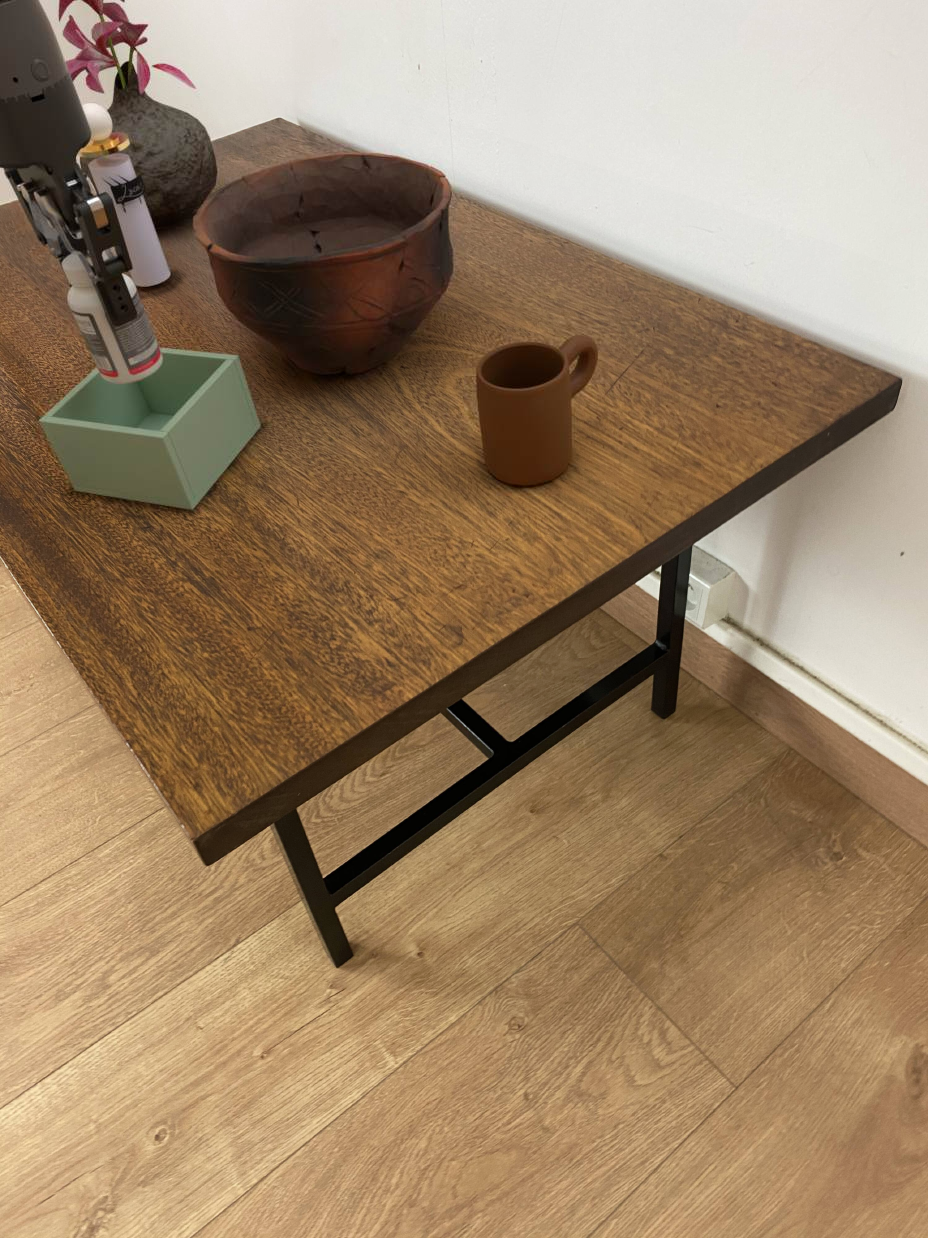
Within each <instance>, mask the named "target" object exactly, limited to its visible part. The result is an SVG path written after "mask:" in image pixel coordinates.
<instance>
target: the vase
mask: <svg viewBox="0 0 928 1238" xmlns="http://www.w3.org/2000/svg"><path fill="white" fill-rule="evenodd" d="M75 1H77V0H58V22H59V23H60V22H61V20H62V18H63V15H64V14H65V12H66V10H67V8H68V7H69V6H70V5H71V4H72V3H74V2H75ZM81 1H82V2H83V3H85V4H86V5H88V7H90V8H91V9H92V10H93V11H94V12H95V13H96V14H97V15H98V17H99V20H100V21H99V22H96V23H94V25H93V27H92V28H91V39H92V40H93V41H94V42H92V41H91V40H90V39H89V38H88V37H87V36H86V35H85V34H84V32H82V30H81V29H80V28H79V25H78V24H77V22H76V21H75V19H74V16H73V15H71V14H69V15H68V21H67V22H66V24H65V26H64V27H63V30H62V36H63V38H65V40H66V41H67V42H68V43H69V44H71V45H72V46H73V47H76V48H77V49H80V51H79V53H77V55H76V56H75V58H72V59H69V60H65V62H66V65H67V68H68V70H69V73H70V76H71V78H72V81H73V82H74V81H75V80H76V78H77V77H78V76H79V75H80V74H81V73H82V72H84V71H85V72H86V73H87V75H86V77H85V85H86V86H87V87H88V88H89V90H91V91H93V92H96V93H99V94H105V90H104V88H103V86H102V83H101V81H100V78H99V73H100V72H102V71H105V70H107V69H111V68H116V69H117V72H116V75H115V77H114V83H113V94H112V102H111V104H110V106H109V107H108V108H107V109H106V110H107V111H108V113H109V114H110V117H111V119H112V124H113V127H112V132H120V133H125V134H127V135H128V137H129V140H130V144H129V145H128V146H127V147H126V148H125V149H123V150H121V151H119V152H116V153H123V154H127V155H129V157H130V160H131V163H132V165H133V168H134V171H135V174H136V177H137V176H138V175H139V174H140V173H141V176H142V179H143V182H144V184H145V187H146V194H147V195H146V194H145V193H144V194H143V196H144V199H145V202H146V205H147V208H148V211H149V213H150V216H151V219H152V222H153V225H154V228H155V230H163V229H170V228H174V227H175V228H176V227H178V226H180V225H183V224H185V223H187V222H188V221H190V220H191V219H192V218H193V217H194V211H195V210H197V209H199V208H200V207H201V205H202V204H203V203H204V202H205V201H206V200H207V199H208V198H209V196H210V194H211V193H212V192H213V190H214V189H215V187H216V186H217V185H216V184H217V178H218V172H219V171H218V166H217V159H216V155H215V150H214V147H213V143H212V140H211V136H210V135H209V133H208V130H207V128H206V126H204V124H203V123H202V122H201V121H200V120H199V119H198V118H196V117H195V116H193V115H192V114H190V113H188V112H187V111H184V110H181V109H179V108H176V107H173V106H170V105H167V104H165V103H161V102H160V101H157V100H154V99H153V98H152V97H150V96H149V95H148V93H147V92H146V88H147V87H148V85H149V83H150V80H151V70H150V69H151V68H150V65H149V64H148V62H147V60H146V59H145V57H144V56H143V55H142V54H141V52H140V51H139V50H138V48H137V47H139V46H141V45H143V44H146V43H147V42H148V37H147V36H142V35H143V33H144V32H145V30H146V29H147V28H148V27H149V24H148V23H137V24H136V23H132V22H130V20H129V17H128V16H127V14H126V11H125V10H124V9H123V7H122V6H121V5H120V4H119V3H117V2H114V1H113V2H104V1H105V0H81ZM120 2H122V3H125V2H126V0H120ZM104 16H106V17H107V18H108V19H109V20H110V21H106V20H105V18H104ZM118 29H119V30H120V31H119V30H118ZM123 43H124V44H126V45H127V46H128V47H129V55H128V60H127V61H125V62H123V63H122V64H121V65H120V62H119V59H118V56H117V54H116V50H115V46H117V45H119V44H123ZM108 49H110V51H109V50H108ZM134 52H136V68H135V66H134V64H133V59H134ZM151 67H152V68H154V69H157V70H160V71H162V72H165V73H166V74H168V75H171V76H172V77H174V78H176V79H177V80H179V81H181V82H182V83H183V84H185V85H186V86H188V87H189V88H192V89H194V90H197V87H196V86H195V84H194V83H193V82H192V80H190V79H189V77H188V76H187V75H186V74H185V73H184V72H183V71H182V70H181V69H179V68H177V67H176V66H174V65H171V64H169V63H163V62H162V63H161V62H160V63H155V64H152V65H151ZM116 153H114V154H116ZM97 158H99V157H95V158H85V157H80V156H79V166H80V168H81V170H82V172H83V173H85V174H86V175H87V176H88V177H89V179H90V181H91V183H92V184H93V186H94V188H95V190H96V193H97V195H98V194H99V193H98V190H97V187H96V185H95V182H94V180H93V177H92V174H91V172H90V169H89V167H88V165H89V163H90V162H91V161H93V160H95V159H97ZM139 185H140V184H139ZM140 187H141V188H142V185H141V186H140ZM143 189H144V187H143ZM142 192H143V191H142ZM147 197H148V198H147Z"/></svg>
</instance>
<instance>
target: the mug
mask: <svg viewBox="0 0 928 1238" xmlns="http://www.w3.org/2000/svg"><path fill="white" fill-rule="evenodd" d="M598 358H599V350H598V347H597V343H596V342H595V339H594V338H592V337H591V336H590V335H588V334H586V333H585V334H582V333H581V334H575V335H573V336H571V337H570V336H569V337H568V338H567V339H566V340H564V342H563V343H562V344H561V345H560V346H559V347H556V346H553V345H551V344H548V343H544V342H540V341H539V342H538V341H517V342H511V343H507V344H503V345H500V346H498V347H495V348H493V349H491V350H490V351H488V352H486V354H484V355H483V356H482V357H481V358H480V360H479V361H478V363H477V365H476V369H475V378H476V379H475V380H476V382H475V383H476V385H475V386H476V401H477V409H478V410H477V411H478V420H479V428H480V435H481V444H482V445H481V446H482V453H483V459H484V463H485V466H486V468H487V470H488V471H489V472H490V474H491V475H492V476H493V477H495V478H496V479H497V480H499V481H501V482H504V483H506V484H510V485H515V486H536V485H541V484H544V483H548V482H549V481H552V480H554V479H556V478H558V477H559V476H560V475H561V474H563V473H564V471H566V469H567V467H569V464H570V462H571V459H572V455H573V417H572V416H573V413H572V411H573V410H572V407H573V405H572V400H573V398H574V397H575V396H576V395H577V394H579V393H580V392H581V391H583V390H584V388H586V386H587V385H588V384H589V382H590V381H591V379H592V377H593V375H594V373H595V371H596V368H597V364H598ZM576 359H577V362H576V364H575V367H574V368H573V370H572V371H571V372H570V366H571V365H572V364H573V362H575V360H576Z"/></svg>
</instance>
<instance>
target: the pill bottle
mask: <svg viewBox="0 0 928 1238" xmlns="http://www.w3.org/2000/svg"><path fill="white" fill-rule="evenodd" d="M88 253H89V252H88ZM102 257H103V260H106V259H108V257H107V255H106V253H105V251H103V253H102ZM62 268H63V269H62ZM61 269H62V271H63V270H64V272H65V274H64V276H65V275H66V276H65V278H66V277H67V278H66V280H67V279H68V281H69V283H70V284H71V285H73V286H72V287H71V288H70V289H69V290H68V292H67V295H66V296H67V297H66V299H67V304H68V306H69V309H70V311H71V314H72V316H73V317H74V319H75V322H76V324H77V326H78V329H79V330H80V333H81V335H82V337H83V340H84V341H85V342H84V343H85V344H86V346H87V348H88V351H89V353H90V355H91V357H92V359H93V361H94V364H95V366H96V367H97V368H98V370H99V372H100V374H101V376H102V378H103V379H104V380H106V381H108V382H111V383H115V384H127V383H132V382H136V381H139V380H142V379H144V378H146V377H148V376H150V375H151V374H153V373H154V372H156V371H157V370H158V369H159V368H160V366H161V365H162V362H163V357H162V354H161V351H160V348H161V347H160V346H159V343H158V341H157V338H156V335H155V332H154V329H153V328H152V327H153V326H152V325H151V323H150V320H149V317H148V315H147V312H146V310H145V307H144V304H143V302H142V300H141V299H142V298H141V297H140V294H139V291H138V288H137V285H135V284H134V282H133V280H132V278H131V276H130V277H129V276H128V275H127V274H125V273H122V275H123V277H124V280H125V282H126V285H127V288H128V290H129V293H130V295H131V298H132V300H133V303H134V305H135V308H136V310H137V317H136V318H135V319H134V320H132V321H130V322H128V323H125V324H123V325H121V326H114V325H113V324H111V323H110V322H109V321H108V319H107V316H106V314H105V311H104V309H103V307H102V304H101V302H100V300H99V297H98V295H97V292H96V290H95V288H94V285H93V283H92V280H91V279H90V278H89V276H88V273H87V271H86V269H85V267H84V265H83V264H82V262H81V260H80V258H79V256H78V255H76V254H70V255H68V256H67V257H66V258H65V259H64V260H63V261H62V267H61ZM64 272H63V273H64ZM68 281H67V282H68ZM69 283H68V284H69ZM159 347H160V348H159Z"/></svg>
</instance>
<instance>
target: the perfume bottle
mask: <svg viewBox="0 0 928 1238" xmlns="http://www.w3.org/2000/svg"><path fill="white" fill-rule="evenodd" d="M81 105H82V108H83V110H84V113H85V116H86V118H87V121H88V124H89V126H90V129H91V139H90V141H89V143H88V144H87V145H86V146H85V147H84V148H81V149H80V151H79V152H78V154H77V156H79V158H80V157H85V158H95V157H99V158H97V159H95V160H93V161H91V162H90V163H89V165H88V167H89V169H90V172H91V174H92V177H93V180H94V182H95V185H96V187H97V190H98V193H99V194H101V193H103V192H107V193H108V194H109V195H110V197H111V198H112V200H113V203H114V206H115V210H116V213H117V216H118V220H119V223H120V226H121V230H122V233H123V236H124V240H125V243H126V246H127V250H128V253H129V256H130V260H131V262H132V266H133V269H132V270H130V271H128V272H129V275H130V278H131V279H132V281H133V282H134V284H135V286H136V287H151V286H152V287H153V286H155V285H159V284H162V283H163V282H165V281H167V280H168V279H169V278H170V276H171V273H172V272H171V270H170V267H169V265H168V261H167V259H166V257H165V256H166V255H165V253H164V250H163V248H162V245H161V242H160V239H159V236H158V233H157V231H156V230H157V229H155V228H154V225H153V222H152V219H151V216H150V213H149V211H148V208H147V205H146V202H145V199H144V196H143V194H144V193H145V194H146V187H145V184H144V182H143V179H142V176H141V173H140V174H139V175H138V176H137V177H136V174H135V171H134V168H133V165H132V163H131V160H130V157H129V155H127V154H123V153H116V152H119V151H121V150H123V149H125V148H126V147H127V146H128V145H129V144H130V140H129V137H128V135H127V134H125V133H120V132H112V127H113V124H112V119H111V117H110V114H109V113H108V111H107V110H108V109H106V108H105V107H103V106H102V104H99V103H98V102H97V103H96V102H85V103H83V104H81ZM114 153H116V154H114ZM139 184H140V185H139ZM141 185H142V188H141V187H140V186H141ZM143 187H144V189H143ZM142 191H143V192H142ZM146 195H147V194H146ZM147 198H148V197H147Z"/></svg>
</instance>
